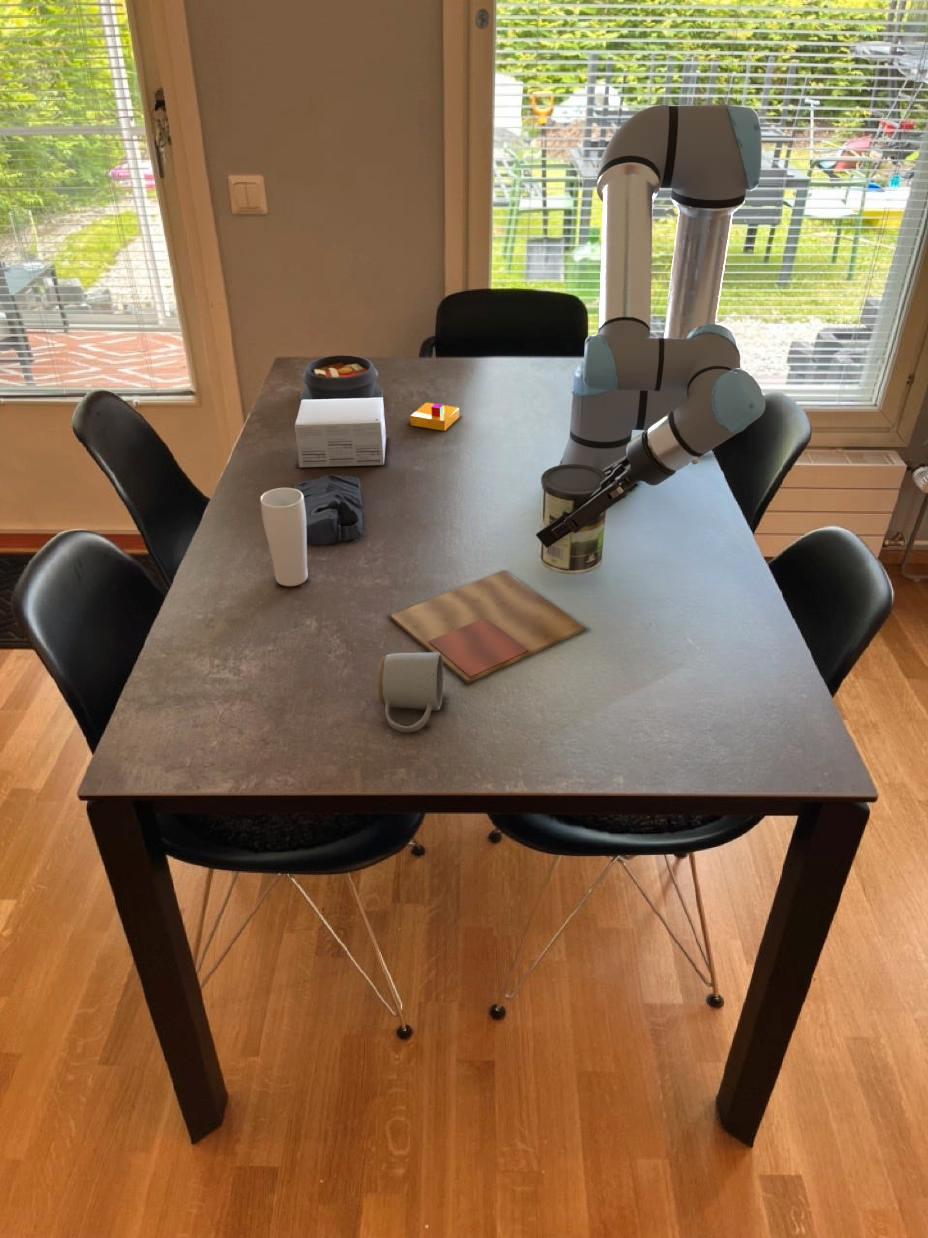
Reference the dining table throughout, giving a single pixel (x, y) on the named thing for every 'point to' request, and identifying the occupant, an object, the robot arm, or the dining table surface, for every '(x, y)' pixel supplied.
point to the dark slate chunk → (332, 509)
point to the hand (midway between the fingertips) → (553, 524)
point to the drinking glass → (286, 534)
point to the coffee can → (565, 493)
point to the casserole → (340, 379)
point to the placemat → (486, 625)
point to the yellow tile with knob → (435, 416)
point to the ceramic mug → (411, 684)
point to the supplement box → (341, 432)
